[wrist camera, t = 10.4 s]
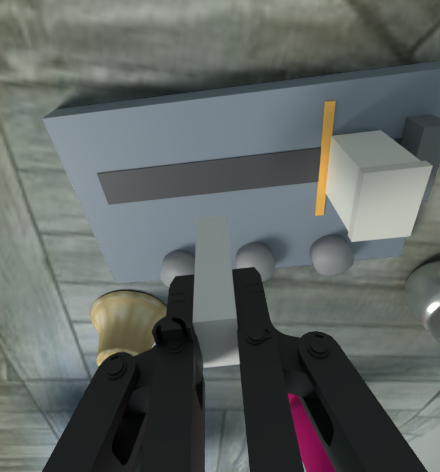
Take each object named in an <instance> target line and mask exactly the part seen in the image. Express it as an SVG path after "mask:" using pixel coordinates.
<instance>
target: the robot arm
mask: <svg viewBox="0 0 440 472" xmlns="http://www.w3.org/2000/svg"><path fill="white" fill-rule="evenodd" d="M152 335H153V337H154V340H155V342H156V345H155V346H154V347H153V348H151V349H149V350H148V351H145V352H143V353H141V354H138V355H136V356H132V355H131V354H129V353H126V352H117V353H115V354H112V355H110V356H109V357H107V358H106V359H105V360H104V361H103V362H102V363H101V365H100V366H99V367H98V369H97V371H96V373H95V375H94V377H93V378H92V380H91V382H90V384H89V386H88V388H87V390H86V391H85V393H84V395H83V397H82V399H81V401H80V402H79V404H78V406H77V408H76V410H75V412H74V414H73V415H72V417H71V419H70V421H69V423H68V425H67V426H66V428H65V430H64V432H63V434H62V436H61V438H60V439H59V441H58V443H57V445H56V447H55V449H54V450H53V452H52V454H51V456H50V458H49V460H48V462H47V463H46V465H45V467H44V469H43V471H42V472H205V382H204V378H203V366H204V368H207V367H217V366H227V365H237V364H240V371H241V382H242V392H243V403H244V413H245V424H246V434H247V445H248V455H249V466H250V472H304V468H303V464H302V459H301V454H300V450H299V445H298V440H297V435H296V431H295V426H294V421H293V417H292V412H291V407H290V403H289V398H288V393H289V394H293V395H297V396H298V397H299V399H300V401H301V403H302V405H303V407H304V409H305V411H306V413H307V415H308V417H309V419H310V421H311V423H312V425H313V427H314V429H315V431H316V433H317V435H318V437H319V439H320V442H321V444H322V446H323V448H324V450H325V452H326V454H327V456H328V458H329V460H330V462H331V464H332V466H333V468H334V470H335V472H428V471H427V470H426V469H425V467H424V466H423V464H422V463H421V462H420V460H419V459H418V457H417V456H416V454H415V453H414V452H413V450H412V449H411V447H410V446H409V444H408V443H407V442H406V440H405V439H404V437H403V436H402V434H401V433H400V432H399V430H398V429H397V427H396V426H395V424H394V423H393V422H392V420H391V419H390V417H389V416H388V414H387V413H386V412H385V410H384V409H383V407H382V406H381V404H380V403H379V402H378V400H377V399H376V397H375V396H374V394H373V393H372V392H371V390H370V389H369V387H368V386H367V384H366V383H365V382H364V380H363V379H362V377H361V376H360V374H359V373H358V372H357V370H356V369H355V367H354V366H353V365H352V363H351V362H350V360H349V359H348V357H347V356H346V355H345V353H344V352H343V350H342V349H341V347H340V346H339V345H338V343H337V342H336V341H335V340H334V339H333V338H332V337H331V336H329V335H328V334H326V333H323V332H318V331H314V332H308V333H306V334H305V335H303V336H302V337H301V338H299V337H293V336H289V335H285V334H283V333H281V332H279V331H278V330H277V329H275V328H274V326H273V325H272V323H271V321H270V317H269V312H268V307H267V303H266V298H265V293H264V288H263V284H262V279H261V274H260V273H259V272H258V271H257V270H256V268H255V267H248V268H239V269H232V261H231V252H230V244H229V236H228V227H227V219H226V215H222V216H213V217H205V218H197V225H196V250H195V274H191V275H182V276H175V278H174V279H173V281H172V282H171V284H170V287H169V296H168V304H167V310H166V316H165V317H163V318H162V319H160V320H158V322H157V323H156V324H155V325H154V327H153V329H152Z"/></svg>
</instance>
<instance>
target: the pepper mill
mask: <svg viewBox="0 0 440 472" xmlns="http://www.w3.org/2000/svg"><path fill="white" fill-rule="evenodd" d="M288 398H289V403H290V407H291V412H292V417H293V421H294V426H295V431H296V435H297V440H298V445H299V450H300V454H301V459H302V461H303V464H304V466H305V469H306V471H307V472H335V470H334V468H333V466H332V464H331V462H330V460H329V458H328V456H327V454H326V452H325V450H324V448H323V446H322V444H321V442H320V439H319V437H318V435H317V433H316V431H315V429H314V427H313V425H312V423H311V421H310V419H309V417H308V415H307V413H306V411H305V409H304V407H303V405H302V403H301V401H300V399H299V397H298V396H297V395H293V394H289V393H288Z"/></svg>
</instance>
